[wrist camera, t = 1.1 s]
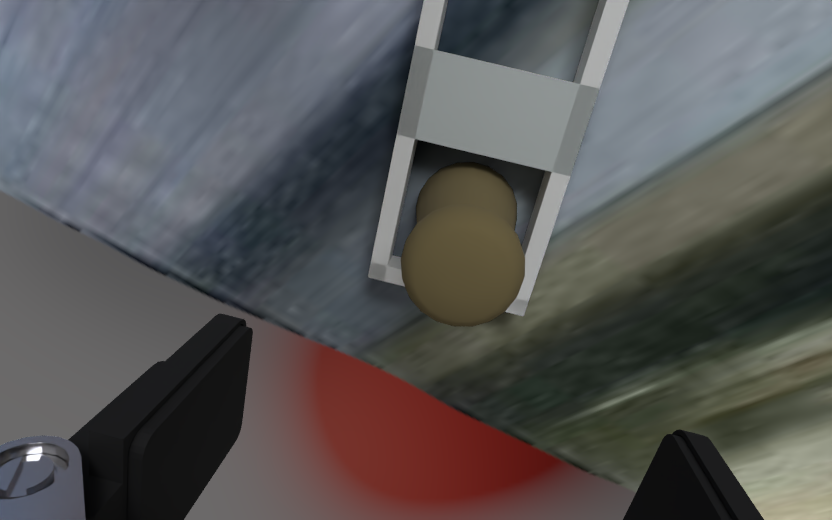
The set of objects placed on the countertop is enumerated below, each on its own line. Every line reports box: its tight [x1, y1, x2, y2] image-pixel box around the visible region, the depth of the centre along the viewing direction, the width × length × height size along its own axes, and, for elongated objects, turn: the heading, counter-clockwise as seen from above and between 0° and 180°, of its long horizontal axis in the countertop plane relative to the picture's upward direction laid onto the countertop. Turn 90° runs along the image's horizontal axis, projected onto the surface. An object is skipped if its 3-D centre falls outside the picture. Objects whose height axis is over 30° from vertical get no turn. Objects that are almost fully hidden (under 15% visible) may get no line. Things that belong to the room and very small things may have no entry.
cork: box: [401, 162, 525, 326], centre depth 24 cm, size 6×6×11 cm
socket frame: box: [368, 0, 629, 316], centre depth 26 cm, size 10×22×2 cm, turn 167°
